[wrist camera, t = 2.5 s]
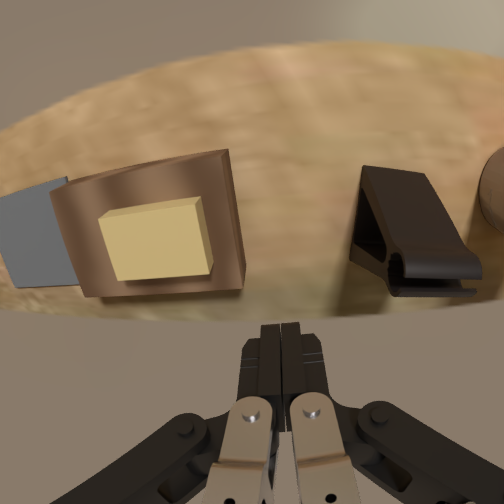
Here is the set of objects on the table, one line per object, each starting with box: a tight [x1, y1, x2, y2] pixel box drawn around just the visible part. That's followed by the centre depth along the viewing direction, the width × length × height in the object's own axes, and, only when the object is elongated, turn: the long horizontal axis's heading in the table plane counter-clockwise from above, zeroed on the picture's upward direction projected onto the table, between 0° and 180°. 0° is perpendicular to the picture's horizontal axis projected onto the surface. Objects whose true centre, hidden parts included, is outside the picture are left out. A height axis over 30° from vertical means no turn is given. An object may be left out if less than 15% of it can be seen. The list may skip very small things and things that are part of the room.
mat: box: [0, 176, 79, 288], centre depth 30 cm, size 15×12×1 cm
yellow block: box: [98, 196, 214, 281], centre depth 24 cm, size 8×6×2 cm
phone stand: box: [349, 165, 482, 297], centre depth 22 cm, size 9×6×12 cm, turn 178°
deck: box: [49, 149, 246, 297], centre depth 27 cm, size 16×11×4 cm
